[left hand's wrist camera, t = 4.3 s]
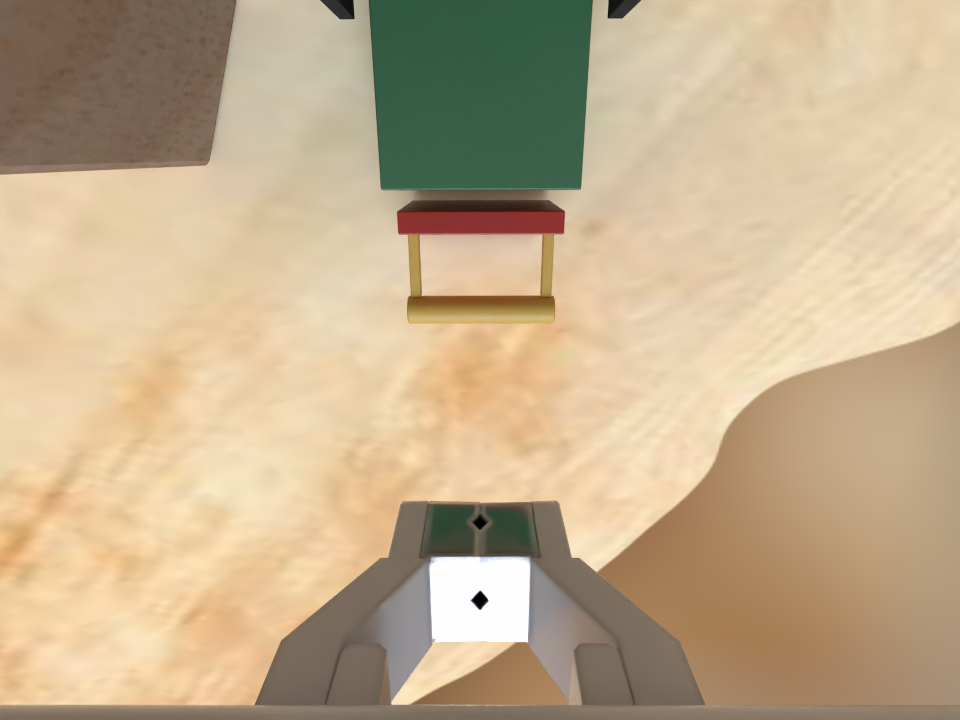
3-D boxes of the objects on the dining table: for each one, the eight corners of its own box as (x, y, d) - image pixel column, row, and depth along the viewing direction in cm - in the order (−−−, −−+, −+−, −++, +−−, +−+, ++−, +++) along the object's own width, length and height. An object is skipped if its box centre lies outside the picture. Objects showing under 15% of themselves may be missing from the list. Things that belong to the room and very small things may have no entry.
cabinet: (558, 181, 35) (581, 189, 27) (403, 181, 35) (380, 190, 27) (570, -94, 30) (604, -185, 22) (390, -93, 30) (356, -184, 22)
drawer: (545, 305, 37) (559, 337, 31) (416, 306, 37) (403, 337, 31) (559, -24, 30) (580, -70, 24) (401, -23, 30) (380, -70, 24)
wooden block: (241, -6, 31) (-120, -245, 12) (211, 168, 34) (-108, 186, 16) (61, -78, 30) (-638, -461, 11) (48, 110, 33) (-505, 55, 15)
